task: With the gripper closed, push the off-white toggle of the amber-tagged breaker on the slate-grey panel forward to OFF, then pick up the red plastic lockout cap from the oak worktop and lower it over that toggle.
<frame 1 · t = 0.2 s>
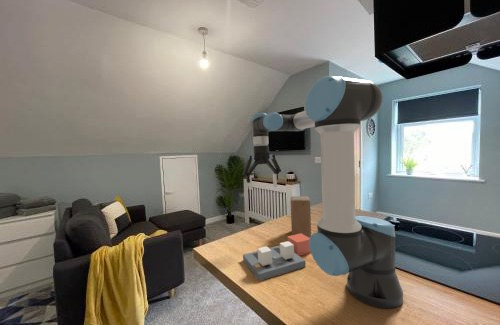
hand: (263, 187, 104), 28 cm above the counter, fingers open, 13 cm apart
wooden block: (301, 234, 113), on the counter
lockout cap: (299, 250, 94), on the counter
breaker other: (287, 250, 83), point 6 cm above the counter, slide at 0.0 cm
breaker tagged: (264, 255, 80), point 6 cm above the counter, slide at 0.0 cm
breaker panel: (273, 263, 85), on the counter
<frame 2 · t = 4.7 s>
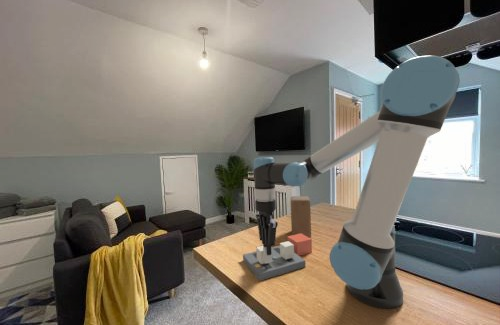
hand: (267, 261, 77), 5 cm above the counter, fingers closed
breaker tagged: (263, 254, 81), point 6 cm above the counter, slide at 1.3 cm, touching gripper
everything else where it was.
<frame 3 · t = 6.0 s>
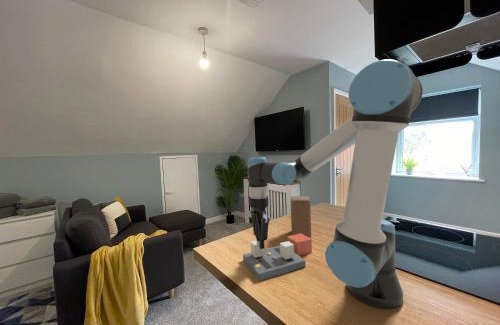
hand: (261, 255, 83), 5 cm above the counter, fingers closed
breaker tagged: (257, 248, 86), point 6 cm above the counter, slide at 7.1 cm, touching gripper
everything else where it was.
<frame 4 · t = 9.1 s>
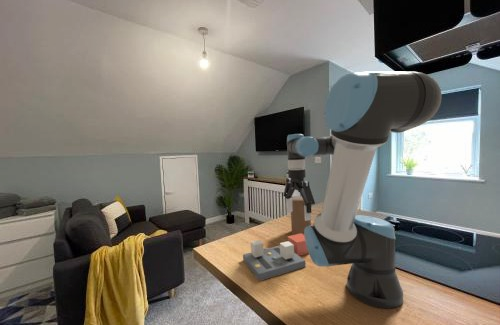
hand: (298, 215, 94), 16 cm above the counter, fingers open, 13 cm apart
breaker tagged: (257, 248, 86), point 6 cm above the counter, slide at 7.0 cm
everything else where it was.
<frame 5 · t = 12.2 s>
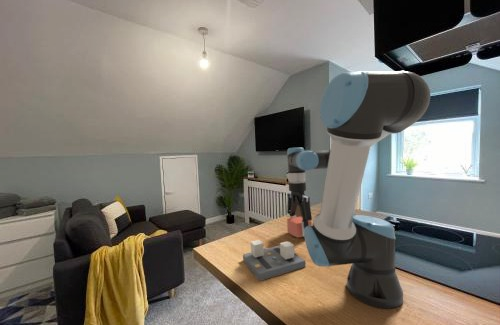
hand: (299, 232, 93), 9 cm above the counter, fingers closed on lockout cap, 8 cm apart
lockout cap: (299, 233, 93), point 8 cm above the counter, touching gripper
everything else where it was.
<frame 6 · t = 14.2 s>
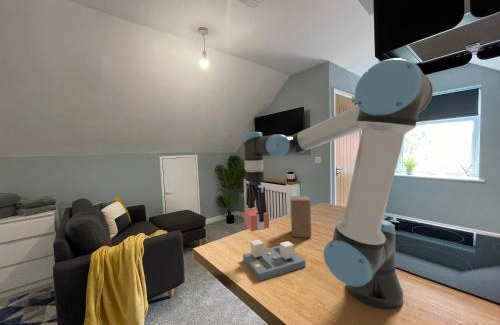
hand: (256, 226, 85), 15 cm above the counter, fingers closed on lockout cap, 8 cm apart
lockout cap: (256, 226, 85), point 15 cm above the counter, touching gripper
everything else where it was.
when the fingers open (4 cm above the counter, at t = 16.2 s): lockout cap stays where it is, resting on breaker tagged.
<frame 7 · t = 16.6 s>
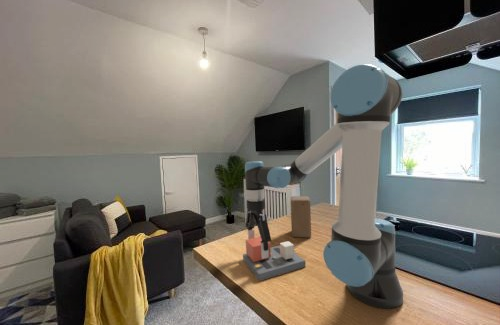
hand: (258, 250, 85), 5 cm above the counter, fingers open, 12 cm apart
lockout cap: (258, 255, 85), point 3 cm above the counter, touching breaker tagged
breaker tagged: (257, 248, 86), point 6 cm above the counter, slide at 6.9 cm, touching lockout cap
everything else where it was.
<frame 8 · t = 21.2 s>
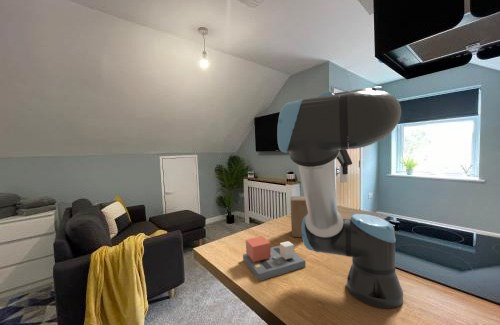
hand: (331, 180, 90), 32 cm above the counter, fingers open, 13 cm apart
nothing on the counter moved.
at the end: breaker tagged slide at 6.9 cm; lockout cap 0.3 cm from the target spot, point 3.0 cm above the counter; lockout cap tilted 0° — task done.
